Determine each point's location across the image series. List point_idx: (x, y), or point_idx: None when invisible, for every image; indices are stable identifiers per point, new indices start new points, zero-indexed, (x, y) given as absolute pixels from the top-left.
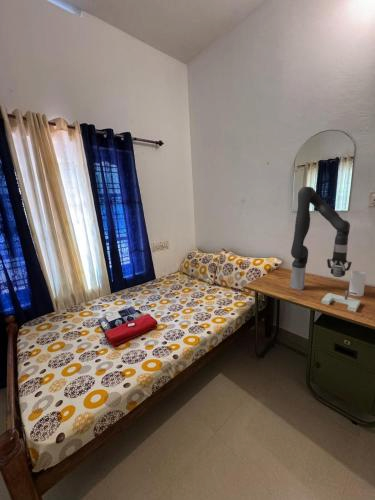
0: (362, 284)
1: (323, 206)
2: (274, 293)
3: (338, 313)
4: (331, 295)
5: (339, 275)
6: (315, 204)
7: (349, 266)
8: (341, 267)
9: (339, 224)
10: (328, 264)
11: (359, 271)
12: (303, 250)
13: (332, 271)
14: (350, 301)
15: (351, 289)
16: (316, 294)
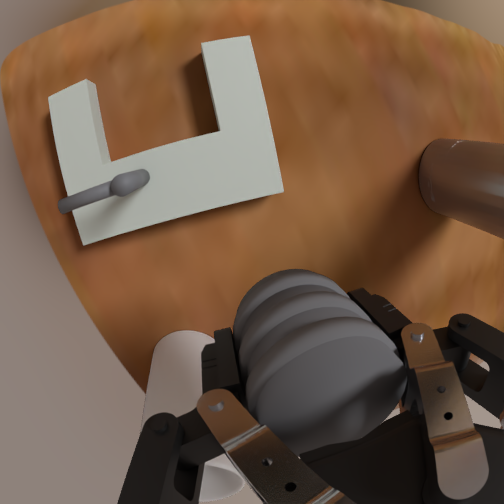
0: (144, 405)
1: None
2: (451, 25)
3: (114, 8)
4: (242, 160)
5: (252, 300)
6: None
7: (125, 494)
8: (296, 447)
9: None
10: (500, 343)
11: (207, 496)
12: None
13: (374, 310)
14: (106, 168)
15: (198, 353)
16: (337, 155)
